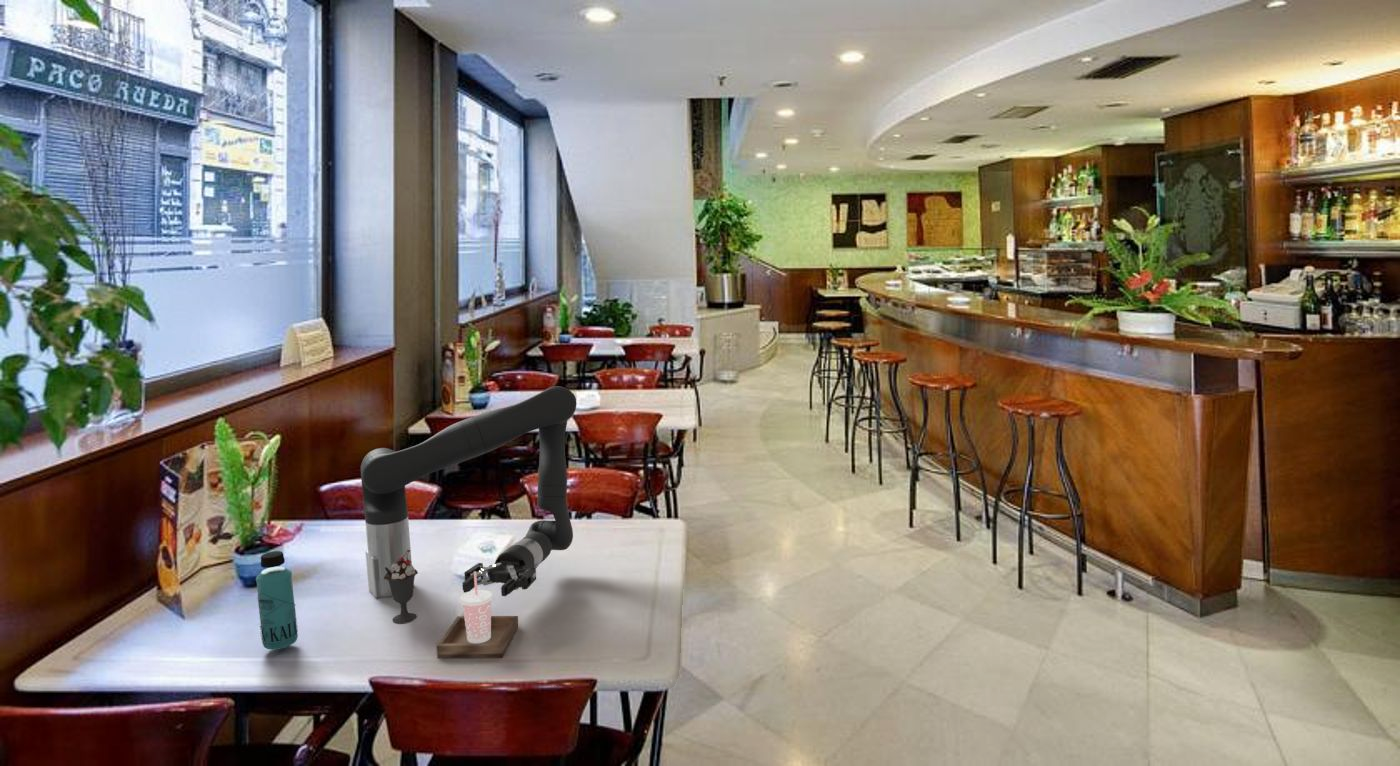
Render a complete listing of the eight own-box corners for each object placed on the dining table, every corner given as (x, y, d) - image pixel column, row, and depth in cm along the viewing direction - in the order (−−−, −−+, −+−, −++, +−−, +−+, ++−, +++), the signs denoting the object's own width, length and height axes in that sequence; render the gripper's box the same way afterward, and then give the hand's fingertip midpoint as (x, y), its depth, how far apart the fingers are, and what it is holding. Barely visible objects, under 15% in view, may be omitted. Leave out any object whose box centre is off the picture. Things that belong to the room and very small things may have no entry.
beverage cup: (467, 648, 155) (462, 580, 153) (460, 635, 161) (455, 569, 159) (498, 640, 158) (494, 573, 156) (490, 628, 164) (486, 563, 161)
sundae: (427, 613, 173) (422, 547, 170) (407, 627, 166) (401, 559, 164) (402, 609, 175) (397, 544, 173) (381, 623, 169) (375, 555, 166)
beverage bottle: (271, 642, 161) (261, 548, 158) (305, 640, 161) (295, 546, 158) (256, 658, 154) (245, 560, 151) (292, 656, 155) (281, 558, 152)
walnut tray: (437, 658, 153) (436, 645, 153) (458, 628, 166) (457, 616, 165) (502, 657, 153) (501, 645, 153) (518, 627, 165) (517, 615, 165)
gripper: (489, 542, 177) (450, 569, 162) (548, 546, 174) (515, 575, 159) (491, 573, 179) (453, 604, 163) (550, 579, 175) (516, 610, 160)
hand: (483, 590), depth 161 cm, fingers open, 8 cm apart
